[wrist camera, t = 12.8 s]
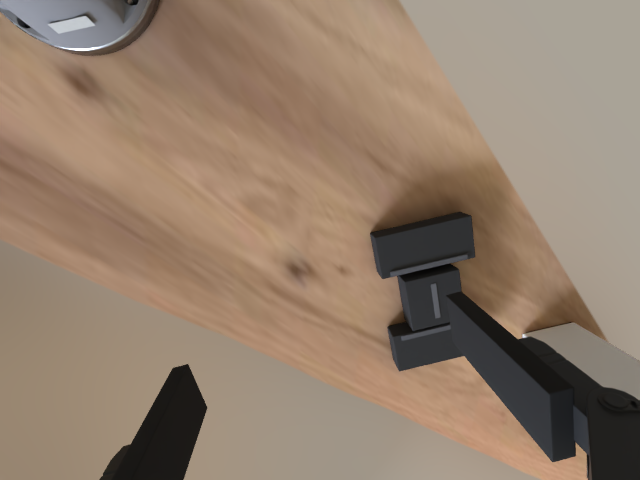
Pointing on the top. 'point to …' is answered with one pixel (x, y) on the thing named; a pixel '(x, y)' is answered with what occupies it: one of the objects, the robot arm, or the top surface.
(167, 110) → the top surface
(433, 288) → the loose pad
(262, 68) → the top surface
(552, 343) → the milk carton
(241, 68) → the top surface
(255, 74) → the top surface
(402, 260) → the pad row
